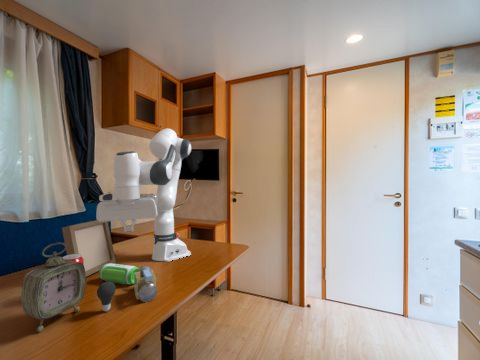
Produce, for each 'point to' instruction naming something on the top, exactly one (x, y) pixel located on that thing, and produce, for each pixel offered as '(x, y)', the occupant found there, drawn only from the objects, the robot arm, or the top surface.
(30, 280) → the tabletop clock
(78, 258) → the soda can
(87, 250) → the photo frame
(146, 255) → the top surface
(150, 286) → the valve
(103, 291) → the light bulb
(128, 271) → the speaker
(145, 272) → the lever
